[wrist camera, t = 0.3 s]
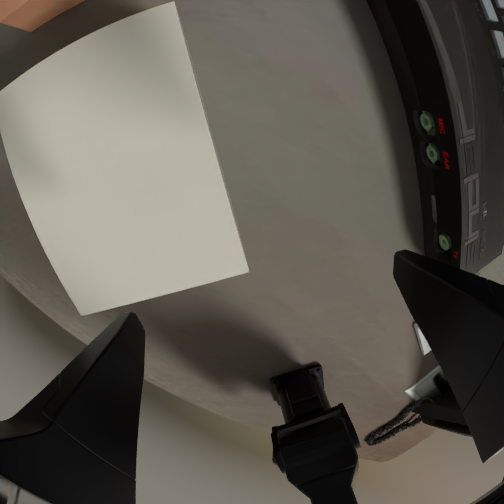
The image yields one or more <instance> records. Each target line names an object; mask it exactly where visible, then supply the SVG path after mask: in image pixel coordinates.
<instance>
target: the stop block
mask: <svg viewBox="0 0 504 504" xmlns="http://www.w3.org/2000/svg"><path fill="white" fill-rule="evenodd" d="M84 1H86V0H0V23H2V24H6V25H9V26H13V27H16V28H20V29H23V30H26V31H29V32H32V31H34V30H35V29H37V28H38V27H40V26H41V25H43V24H44V23H46V22H48V21H49V20H51V19H53V18H54V17H56V16H58V15H59V14H61V13H63V12H65V11H66V10H68V9H70V8H72V7H74V6H76V5H78V4H80V3H82V2H84Z"/></svg>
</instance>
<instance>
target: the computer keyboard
mask: <svg viewBox="0 0 504 504" xmlns="http://www.w3.org/2000/svg"><path fill="white" fill-rule="evenodd" d="M366 1H367V3H368V5H369V7H370V10H371V12H372V14H373V16H374V19H375V21H376V23H377V26H378V28H379V31H380V33H381V36H382V38H383V41H384V44H385V46H386V49H387V52H388V55H389V58H390V61H391V64H392V67H393V70H394V73H395V76H396V79H397V83H398V86H399V90H400V93H401V97H402V100H403V104H404V108H405V112H406V116H407V121H408V125H409V130H410V134H411V139H412V144H413V149H414V155H415V161H416V167H417V173H418V180H419V188H420V196H421V205H422V216H423V228H424V246H425V256H426V257H429V258H432V259H435V260H438V261H440V262H443V263H446V264H449V265H451V266H454V267H457V268H460V269H462V270H465V271H468V272H470V273H473V274H475V273H476V272H477V271H479V270H480V269H482V268H483V267H484V266H486V265H487V264H489V263H490V262H491V261H493V260H494V259H495V258H497V257H498V256H499V255H500V254H502V249H503V245H504V0H366Z"/></svg>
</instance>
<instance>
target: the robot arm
mask: <svg viewBox="0 0 504 504" xmlns="http://www.w3.org/2000/svg"><path fill="white" fill-rule="evenodd" d="M393 276H394V279H395V281H396V283H397V285H398V287H399V290H400V292H401V294H402V296H403V298H404V300H405V302H406V304H407V307H408V309H409V311H410V313H411V315H412V316H413V318H414V320H415V322H416V323H417V325H418V327H419V329H420V330H421V332H422V334H423V336H424V337H425V339H426V341H427V343H428V344H429V346H430V348H431V350H432V352H433V354H434V356H435V357H436V359H437V361H438V363H439V365H440V367H441V369H442V371H443V373H444V375H445V377H446V379H447V381H448V383H449V385H450V387H451V389H452V391H453V393H454V395H455V397H456V399H457V402H458V404H459V406H460V408H461V410H462V411H463V412H462V413H463V415H464V418H465V420H466V422H467V425H468V427H469V429H470V432H471V434H472V437H473V439H474V442H475V444H476V446H477V449H478V452H479V455H480V458H481V460H482V462H483V463H484V462H486V461H487V460H489V459H490V458H492V457H493V456H494V455H496V454H497V453H499V452H500V451H501V450H502V449H504V285H501V284H499V283H496V282H494V281H491V280H487V279H486V278H483V277H481V276H478V275H475V274H473V273H470V272H468V271H465V270H462V269H460V268H457V267H454V266H451V265H449V264H446V263H443V262H440V261H438V260H435V259H432V258H429V257H426V256H423V255H421V254H418V253H415V252H412V251H409V250H401V251H398V252H396V253H395V255H394V267H393ZM144 357H145V330H144V328H143V326H142V324H141V322H140V321H139V319H138V317H137V315H136V314H135V313H134V312H133V311H129V312H124V313H122V314H121V315H120V316H118V317H117V318H116V319H115V320H114V321H113V322H112V323H111V324H110V325H109V326H108V327H107V328H106V329H105V330H104V331H102V332H101V333H100V334H99V335H98V336H97V337H96V338H95V339H94V340H93V341H92V342H91V343H90V344H89V345H88V346H87V347H86V348H85V349H84V350H83V351H82V352H81V353H80V354H79V355H78V356H76V357H75V358H74V360H72V361H71V362H70V363H69V364H68V365H67V366H66V367H65V368H64V369H63V370H62V372H61V374H58V375H57V376H56V377H55V378H54V379H53V380H52V381H51V382H50V383H49V384H48V385H47V386H46V387H45V388H44V389H43V390H42V391H41V392H40V393H39V394H38V395H37V396H35V397H34V398H33V399H32V400H31V401H30V402H29V403H28V404H26V405H25V406H24V407H23V408H22V409H21V410H20V411H19V412H18V413H16V414H15V415H14V416H13V417H11V418H9V419H7V420H4V421H0V504H135V502H136V498H135V496H136V492H135V491H136V481H135V479H136V455H137V438H138V425H139V414H140V403H141V394H142V385H143V377H144ZM270 382H271V385H272V388H273V391H274V394H275V397H276V400H277V403H278V405H279V406H281V409H282V413H283V416H284V420H285V424H284V425H280V426H275V427H272V433H271V438H272V443H273V459H272V460H273V463H274V464H276V465H278V467H279V468H280V470H281V471H282V473H286V475H287V479H288V481H289V482H291V483H292V484H293V485H294V486H295V487H296V488H298V489H299V490H300V491H301V492H302V493H304V494H305V495H306V496H307V497H309V498H310V499H311V503H312V504H358V503H357V501H356V498H355V495H354V492H353V486H354V483H355V479H356V475H357V472H358V468H359V463H358V455H357V452H356V449H358V448H360V443H359V439H358V436H357V434H356V431H355V428H354V426H353V424H352V422H351V420H350V418H349V416H348V413H347V411H346V409H345V407H344V405H343V403H340V404H338V405H337V406H335V407H332V408H331V406H330V404H329V401H328V399H327V396H326V394H325V391H324V382H323V371H322V366H321V365H319V364H318V365H315V366H312V367H308V368H305V369H302V370H298V371H295V372H292V373H288V374H285V375H281V376H277V377H274V378H271V379H270ZM470 504H504V478H503V480H502V482H501V483H500V484H498V485H497V486H496V487H494V488H493V489H491V490H490V491H489V492H487V493H486V494H484V495H483V496H481V497H480V498H478V499H477V500H475V501H474V502H472V503H470Z"/></svg>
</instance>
